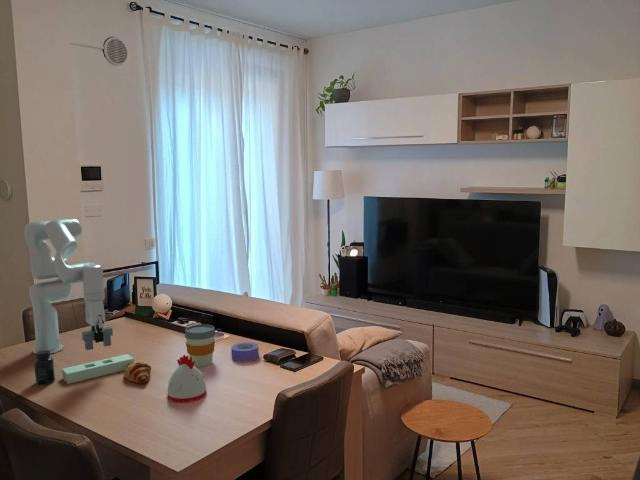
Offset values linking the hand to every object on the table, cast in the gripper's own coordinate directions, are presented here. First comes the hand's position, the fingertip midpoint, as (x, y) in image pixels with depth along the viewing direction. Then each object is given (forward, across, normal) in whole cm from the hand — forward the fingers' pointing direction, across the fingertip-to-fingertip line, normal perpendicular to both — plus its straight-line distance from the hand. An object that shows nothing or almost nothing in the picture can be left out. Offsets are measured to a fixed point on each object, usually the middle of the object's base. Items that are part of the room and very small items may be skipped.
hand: (97, 340), depth 220 cm
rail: (+14, -1, 0) cm, 14 cm away
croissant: (+15, +14, +10) cm, 22 cm away
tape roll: (+15, +22, +55) cm, 61 cm away
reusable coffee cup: (+14, +16, +37) cm, 43 cm away
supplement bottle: (+14, -5, -19) cm, 24 cm away
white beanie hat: (+15, +42, +18) cm, 48 cm away
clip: (+3, 0, 0) cm, 3 cm away
